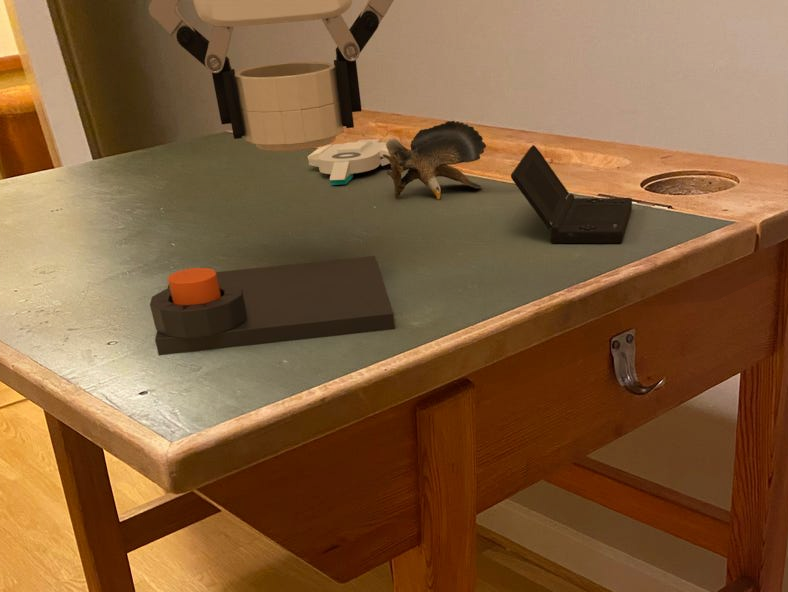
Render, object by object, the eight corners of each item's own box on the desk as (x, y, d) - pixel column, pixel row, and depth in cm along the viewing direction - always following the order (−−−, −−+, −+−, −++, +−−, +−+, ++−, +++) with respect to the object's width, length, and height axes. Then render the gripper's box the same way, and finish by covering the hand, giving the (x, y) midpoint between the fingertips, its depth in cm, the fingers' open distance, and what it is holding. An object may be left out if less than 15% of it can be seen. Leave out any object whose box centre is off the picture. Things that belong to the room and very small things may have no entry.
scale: (157, 359, 68) (146, 315, 66) (172, 292, 79) (163, 252, 78) (395, 333, 69) (391, 288, 68) (376, 270, 81) (372, 231, 79)
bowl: (246, 157, 68) (233, 81, 65) (247, 138, 73) (235, 67, 71) (347, 147, 69) (338, 72, 66) (341, 129, 74) (332, 58, 71)
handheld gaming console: (648, 220, 82) (572, 114, 79) (578, 279, 85) (501, 180, 82) (636, 205, 93) (568, 111, 89) (574, 259, 95) (505, 169, 92)
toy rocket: (330, 153, 118) (327, 132, 117) (412, 151, 117) (410, 129, 116) (290, 187, 106) (287, 163, 104) (381, 185, 104) (379, 161, 103)
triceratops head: (408, 198, 95) (496, 166, 96) (379, 123, 94) (467, 92, 95) (401, 226, 102) (482, 197, 103) (373, 157, 101) (455, 128, 103)
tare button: (172, 311, 68) (165, 284, 66) (175, 296, 70) (169, 270, 69) (220, 305, 68) (215, 279, 67) (222, 291, 70) (216, 265, 69)
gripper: (84, -198, 56) (163, 153, 67) (396, -216, 58) (424, 127, 69) (101, -188, 62) (171, 132, 73) (383, -206, 64) (411, 109, 74)
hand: (293, 127), depth 71 cm, fingers closed on bowl, 6 cm apart
